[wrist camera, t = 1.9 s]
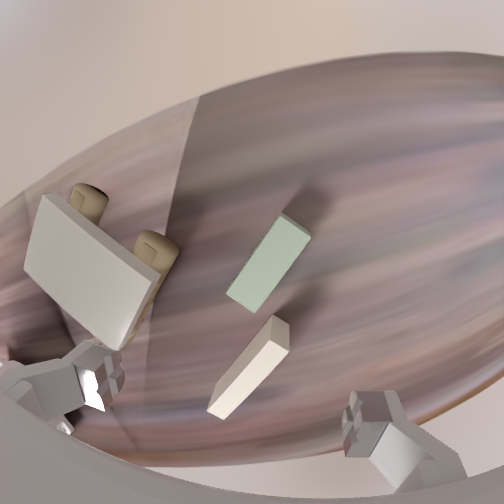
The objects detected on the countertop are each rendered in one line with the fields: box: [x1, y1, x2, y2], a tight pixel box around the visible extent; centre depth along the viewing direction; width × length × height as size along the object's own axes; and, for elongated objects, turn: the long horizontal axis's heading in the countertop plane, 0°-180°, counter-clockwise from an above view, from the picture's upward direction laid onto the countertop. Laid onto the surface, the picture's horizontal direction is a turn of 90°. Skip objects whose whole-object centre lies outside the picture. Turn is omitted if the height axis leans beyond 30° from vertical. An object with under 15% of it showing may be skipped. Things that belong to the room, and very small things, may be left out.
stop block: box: [207, 315, 289, 420], centre depth 27 cm, size 11×2×5 cm, turn 147°
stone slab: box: [23, 193, 161, 351], centre depth 24 cm, size 9×14×2 cm, turn 57°
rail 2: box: [124, 230, 179, 346], centre depth 27 cm, size 12×4×4 cm, turn 147°
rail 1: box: [68, 183, 109, 227], centre depth 27 cm, size 12×4×4 cm, turn 147°
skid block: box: [226, 212, 311, 313], centre depth 26 cm, size 8×3×4 cm, turn 146°
